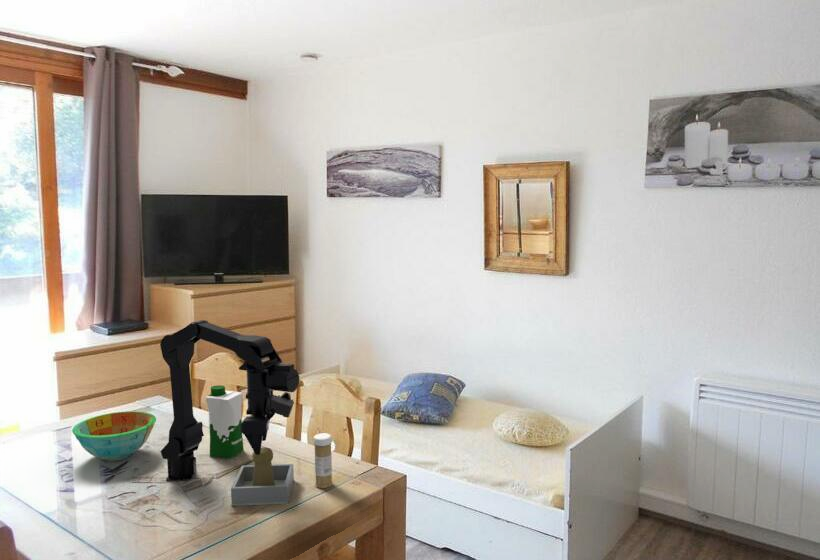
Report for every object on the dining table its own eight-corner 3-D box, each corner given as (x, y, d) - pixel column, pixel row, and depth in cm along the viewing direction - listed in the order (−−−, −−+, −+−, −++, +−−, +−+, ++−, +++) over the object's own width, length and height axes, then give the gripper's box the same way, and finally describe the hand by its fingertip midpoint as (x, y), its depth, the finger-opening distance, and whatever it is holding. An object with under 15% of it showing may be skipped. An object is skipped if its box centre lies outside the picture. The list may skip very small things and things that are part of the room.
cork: (270, 496, 159) (268, 454, 158) (247, 494, 160) (246, 452, 159) (279, 486, 165) (278, 445, 164) (257, 484, 166) (256, 443, 165)
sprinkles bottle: (329, 480, 170) (328, 431, 168) (334, 486, 166) (333, 437, 164) (312, 483, 168) (311, 434, 166) (318, 490, 164) (316, 440, 162)
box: (231, 506, 155) (230, 488, 155) (242, 481, 169) (241, 465, 168) (287, 503, 156) (287, 486, 156) (293, 479, 170) (293, 463, 169)
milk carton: (222, 446, 194) (220, 382, 191) (248, 449, 191) (245, 385, 189) (204, 457, 186) (201, 390, 183) (231, 460, 183) (228, 393, 180)
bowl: (56, 464, 181) (53, 430, 180) (118, 437, 201) (116, 407, 200) (115, 476, 173) (112, 441, 171) (174, 447, 193) (172, 415, 192)
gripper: (286, 398, 151) (288, 461, 153) (295, 376, 170) (296, 433, 172) (239, 399, 150) (241, 462, 152) (252, 377, 169) (254, 434, 171)
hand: (260, 447), depth 162 cm, fingers open, 9 cm apart
